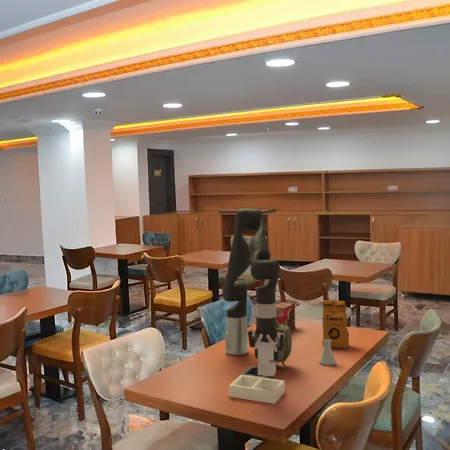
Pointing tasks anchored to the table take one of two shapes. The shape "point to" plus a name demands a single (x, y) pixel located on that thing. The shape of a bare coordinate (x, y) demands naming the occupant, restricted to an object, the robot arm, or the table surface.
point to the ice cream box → (286, 314)
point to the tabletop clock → (288, 342)
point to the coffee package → (335, 323)
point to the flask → (327, 354)
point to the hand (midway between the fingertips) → (267, 359)
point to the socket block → (254, 372)
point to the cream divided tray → (257, 389)
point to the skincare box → (266, 359)
